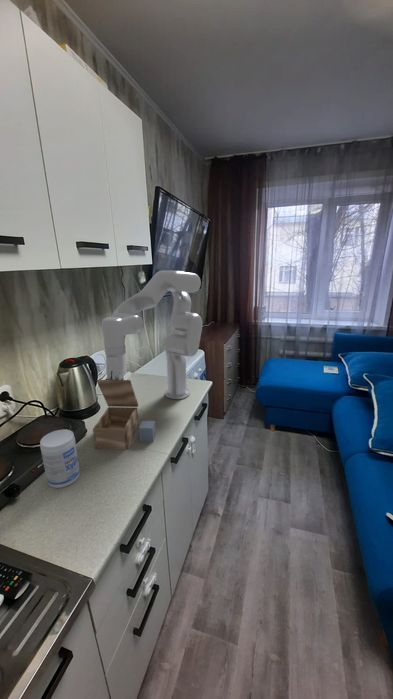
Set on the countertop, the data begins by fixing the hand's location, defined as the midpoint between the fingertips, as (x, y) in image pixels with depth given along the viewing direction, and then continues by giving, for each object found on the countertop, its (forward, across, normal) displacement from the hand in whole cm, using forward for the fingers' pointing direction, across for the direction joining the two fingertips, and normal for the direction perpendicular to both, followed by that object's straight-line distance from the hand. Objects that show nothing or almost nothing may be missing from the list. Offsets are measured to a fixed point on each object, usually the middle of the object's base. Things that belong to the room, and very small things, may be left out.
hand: (120, 393), depth 113 cm
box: (+15, +7, 0) cm, 16 cm away
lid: (-1, +2, 0) cm, 2 cm away
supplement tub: (+15, +30, -10) cm, 35 cm away
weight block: (+15, +8, +12) cm, 21 cm away
